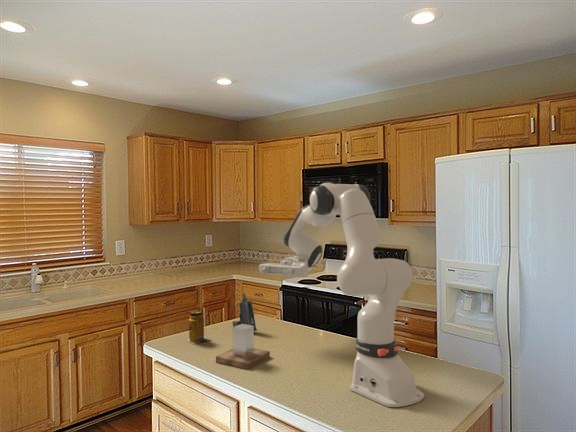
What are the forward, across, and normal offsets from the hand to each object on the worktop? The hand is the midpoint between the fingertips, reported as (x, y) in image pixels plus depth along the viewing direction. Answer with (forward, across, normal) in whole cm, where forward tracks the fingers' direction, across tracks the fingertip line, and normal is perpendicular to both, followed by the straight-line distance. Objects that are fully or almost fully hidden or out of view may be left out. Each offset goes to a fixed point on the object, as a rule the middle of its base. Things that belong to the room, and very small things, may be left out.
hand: (272, 272), depth 164 cm
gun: (-14, -24, +30) cm, 41 cm away
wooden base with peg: (+16, -3, +30) cm, 34 cm away
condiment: (+7, -32, +30) cm, 45 cm away
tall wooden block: (+16, -3, +28) cm, 32 cm away
